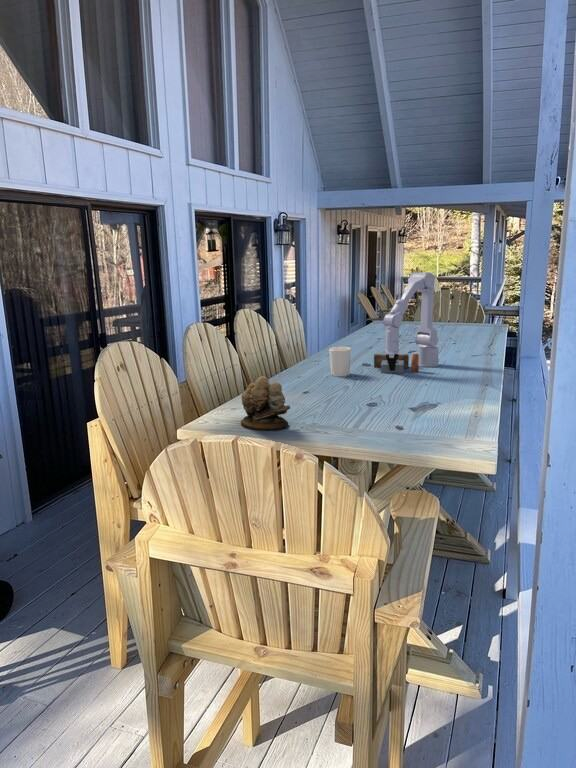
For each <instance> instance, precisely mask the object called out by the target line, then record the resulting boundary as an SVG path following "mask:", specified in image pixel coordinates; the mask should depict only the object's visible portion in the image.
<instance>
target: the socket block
mask: <svg viewBox="0 0 576 768" xmlns="http://www.w3.org/2000/svg"><path fill="white" fill-rule="evenodd" d="M404 370H405V368H404V360H397V361H396V366H395V370H394V371H390V370H389V364H388V361H387V360H382V362H381V368H380V373H381V374H404Z"/></svg>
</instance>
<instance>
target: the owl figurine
mask: <svg viewBox="0 0 576 768" xmlns="http://www.w3.org/2000/svg"><path fill="white" fill-rule="evenodd" d="M282 391H283V387H282V384H281V383H280V382H275V381H274V382H273V381H272V382H270V381H269V378H268V377H266V376H265V375H262V376H259V377H257V378H256V380H255V382H250V383H249V384H248V385H247V388H246V389H245V391H243V393H241V404H242V405H243V410H244V411H245V413H246V416H244V417H243V419H241V420H240V425H241V427H243V428H245V429H247V430H253V431H261V432H275V431H280V430H283V429H285V428H286V427H288V426H289V422H288V420H286V419H285V418H284V417H283V416H279V415H285V414H286V413H288V410H290V409H291V405H285V404H286V401H285V400H286V397H285V395H284V393H283V392H282Z"/></svg>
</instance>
